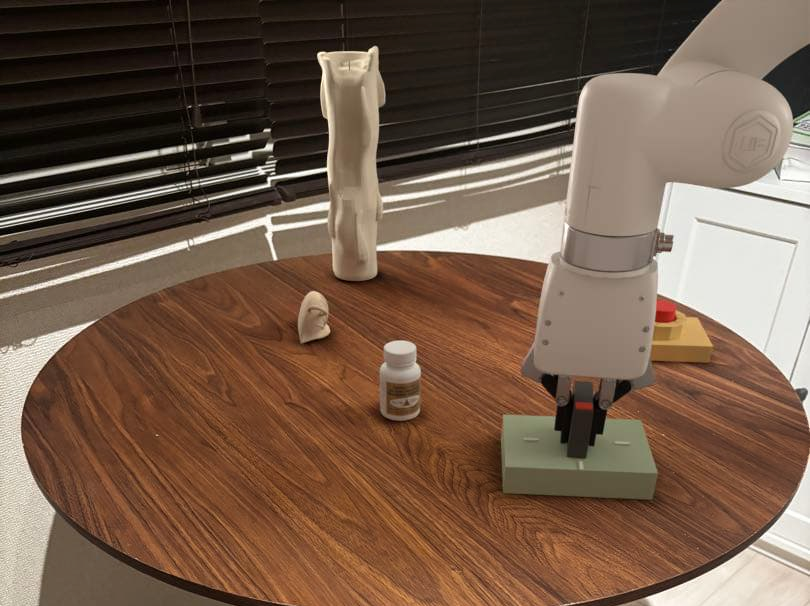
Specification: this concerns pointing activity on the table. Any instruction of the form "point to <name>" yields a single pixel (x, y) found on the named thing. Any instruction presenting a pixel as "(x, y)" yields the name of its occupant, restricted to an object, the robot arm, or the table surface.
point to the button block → (680, 341)
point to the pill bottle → (400, 381)
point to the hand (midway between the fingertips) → (577, 436)
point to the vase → (353, 158)
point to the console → (576, 460)
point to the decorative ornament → (313, 317)
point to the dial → (580, 419)
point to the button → (665, 312)
